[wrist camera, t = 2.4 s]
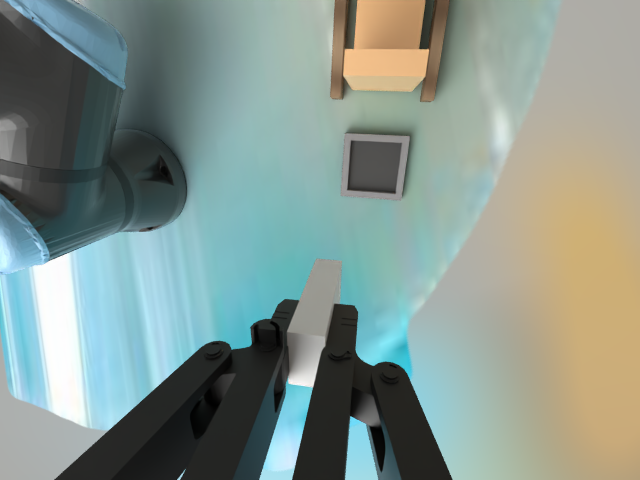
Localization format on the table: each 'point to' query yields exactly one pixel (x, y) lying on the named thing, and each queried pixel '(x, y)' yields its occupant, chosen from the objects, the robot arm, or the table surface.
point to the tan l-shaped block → (387, 46)
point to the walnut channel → (433, 45)
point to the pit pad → (374, 166)
